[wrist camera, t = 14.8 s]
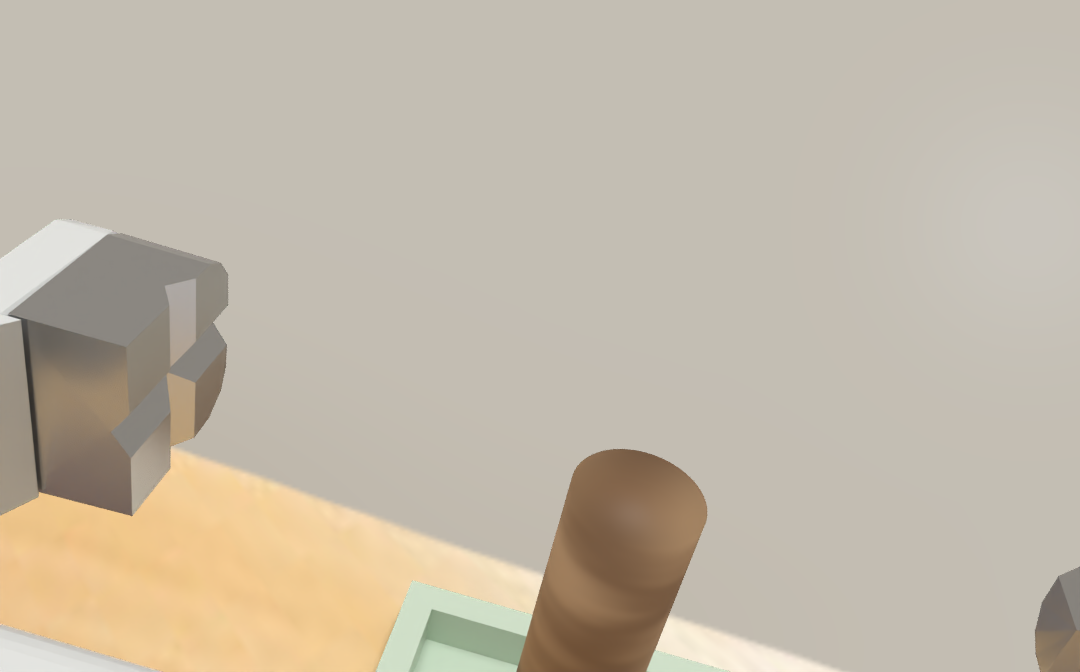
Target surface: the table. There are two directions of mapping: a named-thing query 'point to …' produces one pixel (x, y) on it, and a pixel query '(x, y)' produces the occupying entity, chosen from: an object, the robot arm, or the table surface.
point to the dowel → (614, 565)
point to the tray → (472, 637)
